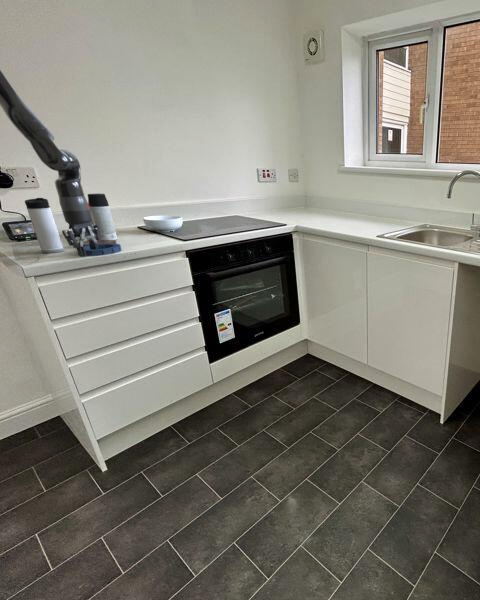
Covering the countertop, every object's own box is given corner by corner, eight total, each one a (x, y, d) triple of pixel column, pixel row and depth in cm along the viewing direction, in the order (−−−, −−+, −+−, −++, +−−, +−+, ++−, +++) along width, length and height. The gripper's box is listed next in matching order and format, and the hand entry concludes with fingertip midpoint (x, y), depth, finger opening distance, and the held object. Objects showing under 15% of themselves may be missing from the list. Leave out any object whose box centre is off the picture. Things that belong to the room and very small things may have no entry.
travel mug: (67, 249, 141) (51, 197, 133) (59, 252, 135) (41, 199, 128) (47, 249, 139) (29, 197, 131) (38, 253, 133) (19, 199, 126)
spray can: (117, 237, 162) (105, 193, 155) (117, 240, 158) (105, 194, 150) (99, 239, 159) (86, 193, 151) (98, 242, 154) (85, 194, 146)
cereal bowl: (178, 234, 175) (176, 219, 173) (140, 234, 171) (137, 220, 168) (188, 228, 190) (186, 214, 188) (153, 228, 186) (150, 215, 183)
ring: (104, 256, 133) (103, 251, 132) (69, 255, 133) (68, 250, 132) (129, 248, 145) (127, 243, 144) (97, 247, 145) (95, 242, 144)
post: (98, 248, 143) (87, 209, 138) (73, 247, 143) (61, 209, 137) (116, 243, 153) (106, 206, 147) (93, 242, 152) (82, 206, 147)
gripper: (81, 206, 134) (94, 249, 140) (46, 210, 121) (62, 258, 127) (101, 206, 134) (113, 250, 140) (68, 211, 121) (83, 259, 127)
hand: (89, 254), depth 133 cm, fingers open, 5 cm apart
